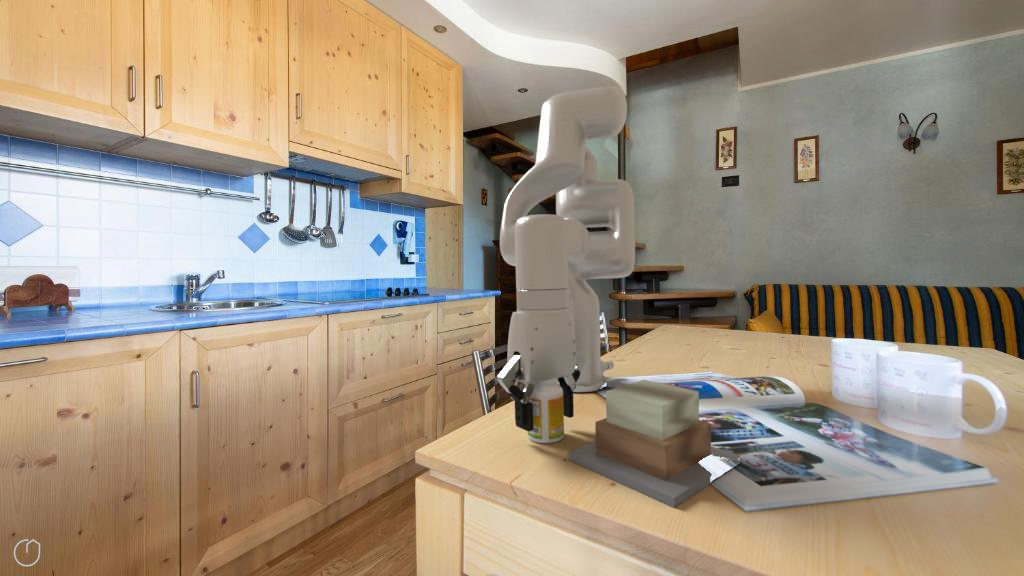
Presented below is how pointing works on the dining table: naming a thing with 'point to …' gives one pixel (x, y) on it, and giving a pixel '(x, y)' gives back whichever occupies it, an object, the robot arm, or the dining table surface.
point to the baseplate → (647, 484)
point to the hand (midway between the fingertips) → (545, 420)
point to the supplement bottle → (547, 412)
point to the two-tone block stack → (653, 428)
